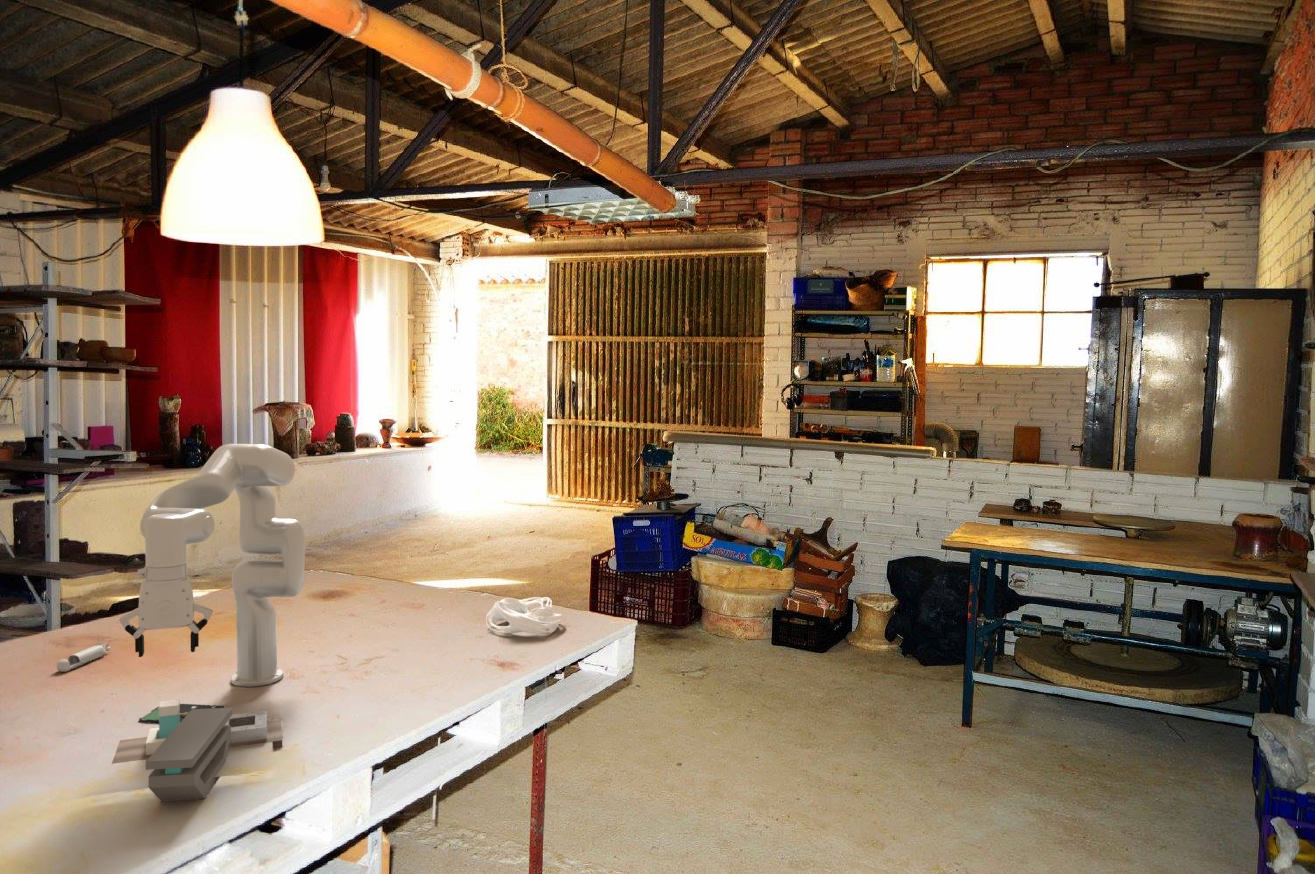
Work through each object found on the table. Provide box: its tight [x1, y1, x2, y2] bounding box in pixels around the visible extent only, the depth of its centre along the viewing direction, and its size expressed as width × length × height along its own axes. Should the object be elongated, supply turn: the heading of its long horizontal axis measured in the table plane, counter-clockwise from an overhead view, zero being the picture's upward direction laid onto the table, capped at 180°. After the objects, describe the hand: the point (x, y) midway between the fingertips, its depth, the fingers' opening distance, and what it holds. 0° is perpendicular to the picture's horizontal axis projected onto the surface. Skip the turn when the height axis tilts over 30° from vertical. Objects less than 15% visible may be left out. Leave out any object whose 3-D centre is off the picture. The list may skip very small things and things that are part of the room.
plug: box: [158, 698, 181, 739], centre depth 193 cm, size 4×4×9 cm
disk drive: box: [137, 703, 225, 724], centre depth 209 cm, size 10×3×15 cm
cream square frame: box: [146, 727, 166, 755], centre depth 193 cm, size 8×8×2 cm
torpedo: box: [56, 633, 112, 673], centre depth 247 cm, size 18×5×7 cm, turn 173°
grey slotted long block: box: [145, 707, 233, 802], centre depth 177 cm, size 25×8×11 cm, turn 10°
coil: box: [485, 596, 564, 637], centre depth 288 cm, size 25×24×9 cm
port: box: [225, 710, 268, 745], centre depth 198 cm, size 10×10×3 cm
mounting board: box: [111, 719, 283, 764], centre depth 195 cm, size 12×32×2 cm, turn 114°
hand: (167, 652), depth 191 cm, fingers open, 9 cm apart
